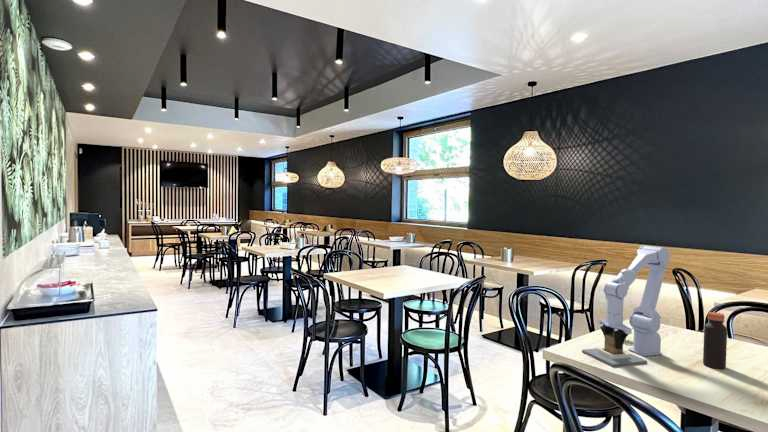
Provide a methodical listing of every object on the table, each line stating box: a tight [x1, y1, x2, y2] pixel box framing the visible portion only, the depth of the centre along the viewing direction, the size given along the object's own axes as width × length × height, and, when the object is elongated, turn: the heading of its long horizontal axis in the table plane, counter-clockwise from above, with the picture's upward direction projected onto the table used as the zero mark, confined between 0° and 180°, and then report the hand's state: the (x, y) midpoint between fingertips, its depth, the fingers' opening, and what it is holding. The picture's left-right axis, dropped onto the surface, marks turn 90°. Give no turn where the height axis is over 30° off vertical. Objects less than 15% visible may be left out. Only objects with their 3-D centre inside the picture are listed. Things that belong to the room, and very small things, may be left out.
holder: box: [581, 347, 648, 368], centre depth 164 cm, size 16×16×2 cm
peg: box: [603, 334, 624, 355], centre depth 164 cm, size 4×4×7 cm
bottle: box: [702, 311, 728, 370], centre depth 156 cm, size 7×7×20 cm
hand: (613, 346), depth 164 cm, fingers closed on peg, 4 cm apart
